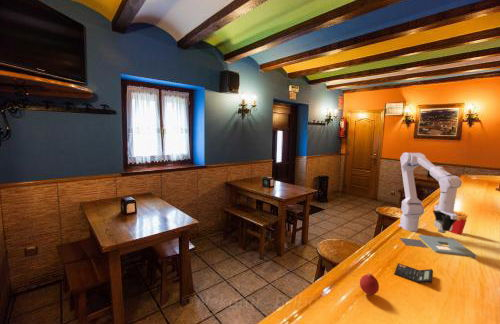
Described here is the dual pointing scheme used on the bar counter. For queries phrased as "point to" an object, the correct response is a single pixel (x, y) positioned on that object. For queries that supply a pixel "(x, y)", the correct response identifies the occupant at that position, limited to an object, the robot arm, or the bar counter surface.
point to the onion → (369, 284)
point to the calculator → (414, 274)
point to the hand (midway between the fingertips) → (442, 228)
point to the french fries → (459, 223)
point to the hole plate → (453, 249)
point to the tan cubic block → (440, 226)
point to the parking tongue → (413, 242)
